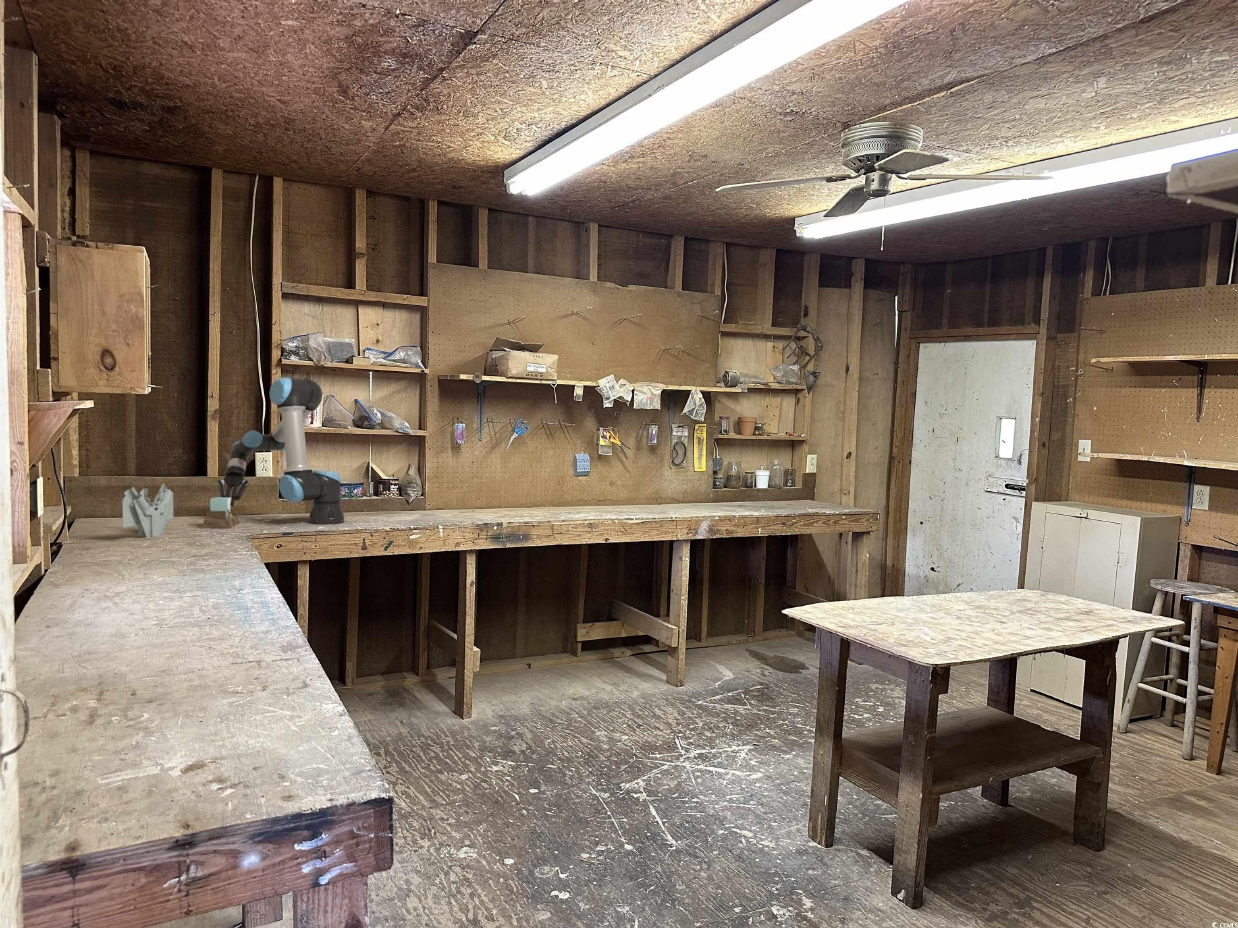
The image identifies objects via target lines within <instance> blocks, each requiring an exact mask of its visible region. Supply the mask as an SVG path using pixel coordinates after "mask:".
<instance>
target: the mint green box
mask: <svg viewBox="0 0 1238 928" xmlns="http://www.w3.org/2000/svg"><path fill="white" fill-rule="evenodd" d="M209 501H210V502H209V503H210V505H209V507H210V510H209V511H226V520H228V514H229V513H228V500H227V497H221V496H220V497H212V498H210V500H209Z"/></svg>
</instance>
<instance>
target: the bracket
mask: <svg viewBox="0 0 1238 928" xmlns="http://www.w3.org/2000/svg"><path fill="white" fill-rule="evenodd" d="M148 489H149V488H146V487H145V488H142V489H141V491H140V492H139V493H138V492H137V490H136V489H135V487H134V486H133V487H132V488H128V489H126V491H124V495H125V496H124V497H123V499H122V503H121V505H122V528H123V529H124V528H129V527H133V526H134V527H136V526H137V537H140V536H145V538H146V537H147V538H154V537H153V536H155V537H159V535H160V534H163V533H164V531H165V526H166V524H167V521H169V520H173V519H174V492H173V491H171V489H170V488H169V489H168V488H167V485H165V483H162V485H161V487H160V489H159V491H158V493H157V495H156V496H155V498H154V499H153V502H151V499H150V498H149V497H146V496H147V495H148V494H149V491H148ZM150 536H151V537H150ZM160 536H161V535H160Z"/></svg>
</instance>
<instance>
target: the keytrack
mask: <svg viewBox="0 0 1238 928" xmlns="http://www.w3.org/2000/svg"><path fill="white" fill-rule="evenodd" d="M239 524H240V520H239V516H237V515H235V516H233V513H231V512H230V513H228V520H226V511H210V510H208V511H206V513H205V520H203V523H202V525H201V529H202V528H211V529H232V528H234V527H235V526H238V525H239ZM233 526H234V527H233Z"/></svg>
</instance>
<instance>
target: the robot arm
mask: <svg viewBox="0 0 1238 928" xmlns="http://www.w3.org/2000/svg"><path fill="white" fill-rule="evenodd" d="M269 398H270V402H271V403H272V404H273V405H275V406H276V408H277V409H276V410H277V411H278V412H279V413H280V414H281V420H280V421H279V422H278V424H277V425H276V427H274V428H273V430H272V431H271V433H269V434H261V432H259V431H256V430H253V429H252V430H249V431H247V433H245V434H244V435H243V436H242V438H241V439H240V440H238V441H235V442H234V443H233V444H232V447H231V449H230V456H229V460H228V463H227V468H226V472H225V476H224V478H223V479H222V480H220V479H219V480H217V485H218V486H219V491H220V497H227V500H228V514H229V513H231V510H232V509H231V508H232V507H234V506H235V501H240V499H241V498H242V496H243V493H244V492H245V491H246V489H247V487H248V486H249V481H248V480H245V473H246V469H247V463H248V459H249V457H250V456H251V455H252V454H253V453H254V452H257V451H259V452H260V451H262V452H263V451H264V452H265V451H284V450H285V451H284V452H285V460H286V469H285V470H284V471H283V475H282V476H281V477H280V479H279V482H278V483H279V484H278V487H279V492H280V494H281V496H282V497H283V498H284V500H286V501H287V502H291V503H292V502H293V503H294V502H295V503H298V502H306V501H312V507H311V511H310V513H309V516H308V523H309V522H310V523H309V524H313V523H314V524H317V525H331V524H332V525H333V524H334V525H335V524H341V523H344V522H345V514H344V512H343V509H342V506H341V483H342V481H341V474H340V473H339V472H336V471H335V472H334V471H328V470H327V471H326V470H317V469H316V470H313V469H312V467H310V466H309V463H308V452H307V444H306V435H305V423H304V420H306V418H307V417H308V416H309V415H310V414H311V412H314V411H316V410H317V409H318V408H319V406H320V405H321V403H322V400H323V390H322V388H321V386H320V385H319V383H318V382H316V381H314V380H312V379H309V378H296V377H295V378H294V377H279V378H276V379H275V380H274V381H273V383H272V384H271V386H270V389H269ZM224 485H226V486H227V487H226V489H224ZM225 490H226V491H225ZM230 496H231V497H230ZM314 524H313V525H314Z"/></svg>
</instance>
